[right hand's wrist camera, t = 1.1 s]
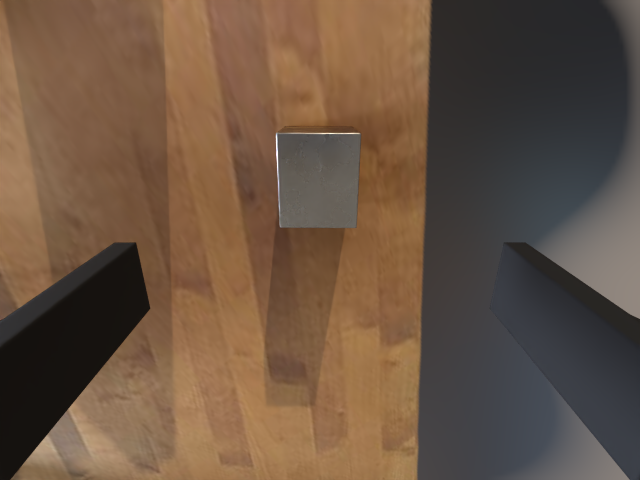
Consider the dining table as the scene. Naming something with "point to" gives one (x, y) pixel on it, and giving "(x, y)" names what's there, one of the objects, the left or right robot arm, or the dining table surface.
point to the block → (318, 176)
